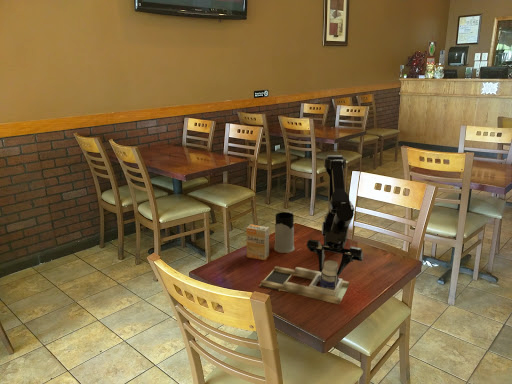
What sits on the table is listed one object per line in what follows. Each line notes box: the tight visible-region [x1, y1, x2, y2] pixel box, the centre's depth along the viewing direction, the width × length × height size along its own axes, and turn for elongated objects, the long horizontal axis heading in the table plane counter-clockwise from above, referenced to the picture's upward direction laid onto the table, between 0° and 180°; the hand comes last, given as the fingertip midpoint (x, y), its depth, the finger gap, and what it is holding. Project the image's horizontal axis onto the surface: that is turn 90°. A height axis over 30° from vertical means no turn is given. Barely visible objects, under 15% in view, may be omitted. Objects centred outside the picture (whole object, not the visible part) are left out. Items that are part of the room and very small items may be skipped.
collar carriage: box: [308, 274, 344, 297], centre depth 136 cm, size 9×9×2 cm
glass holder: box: [273, 211, 295, 254], centre depth 169 cm, size 9×14×15 cm, turn 156°
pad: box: [336, 286, 349, 301], centre depth 135 cm, size 8×10×1 cm
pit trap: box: [258, 269, 293, 292], centre depth 144 cm, size 8×14×1 cm, turn 154°
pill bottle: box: [319, 259, 339, 290], centre depth 134 cm, size 6×6×10 cm
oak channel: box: [260, 265, 350, 305], centre depth 139 cm, size 28×13×3 cm, turn 64°
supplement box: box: [245, 223, 270, 261], centre depth 159 cm, size 8×5×13 cm, turn 68°
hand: (329, 273), depth 133 cm, fingers closed on pill bottle, 6 cm apart
